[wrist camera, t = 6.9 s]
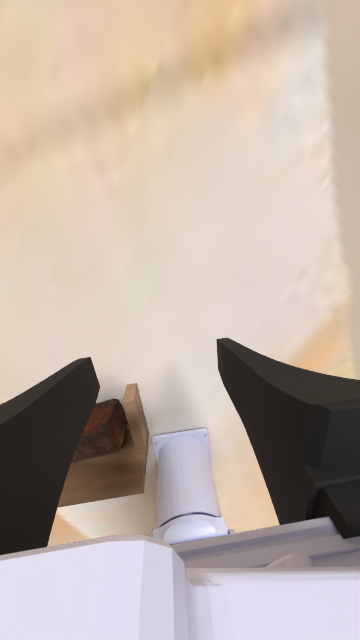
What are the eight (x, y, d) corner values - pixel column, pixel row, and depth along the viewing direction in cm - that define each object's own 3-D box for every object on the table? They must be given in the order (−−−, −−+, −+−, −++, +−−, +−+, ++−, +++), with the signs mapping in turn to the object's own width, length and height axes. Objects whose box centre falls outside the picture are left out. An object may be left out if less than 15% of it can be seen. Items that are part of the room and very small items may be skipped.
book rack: (148, 433, 27) (143, 492, 20) (29, 451, 26) (-16, 520, 19) (136, 383, 24) (126, 434, 17) (1, 403, 23) (-64, 464, 16)
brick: (117, 394, 24) (106, 425, 20) (129, 416, 25) (121, 450, 21) (39, 417, 24) (12, 454, 20) (55, 438, 26) (33, 476, 21)
